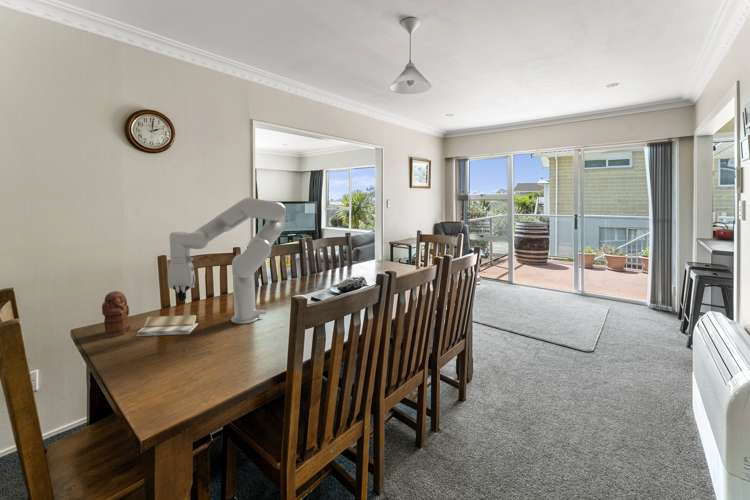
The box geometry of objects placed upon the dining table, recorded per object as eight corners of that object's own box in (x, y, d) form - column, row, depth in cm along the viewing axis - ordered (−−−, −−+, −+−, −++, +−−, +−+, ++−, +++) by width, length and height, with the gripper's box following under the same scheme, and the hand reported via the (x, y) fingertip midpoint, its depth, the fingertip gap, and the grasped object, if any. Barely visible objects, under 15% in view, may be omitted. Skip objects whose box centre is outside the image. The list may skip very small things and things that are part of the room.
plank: (196, 317, 165) (195, 315, 164) (193, 326, 161) (192, 325, 160) (148, 318, 162) (147, 317, 161) (144, 329, 157) (143, 327, 157)
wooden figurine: (120, 337, 150) (116, 295, 147) (103, 338, 149) (98, 295, 146) (133, 326, 161) (130, 287, 158) (117, 327, 160) (113, 288, 157)
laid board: (192, 328, 160) (192, 325, 159) (188, 332, 154) (188, 329, 154) (143, 330, 156) (143, 327, 156) (137, 335, 151) (136, 332, 151)
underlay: (198, 324, 166) (198, 323, 166) (189, 333, 154) (189, 333, 154) (148, 326, 162) (148, 325, 162) (135, 336, 151) (135, 335, 151)
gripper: (201, 258, 163) (202, 298, 165) (165, 258, 160) (167, 298, 163) (195, 261, 155) (197, 303, 158) (158, 261, 153) (160, 303, 155)
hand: (182, 300), depth 160 cm, fingers closed
